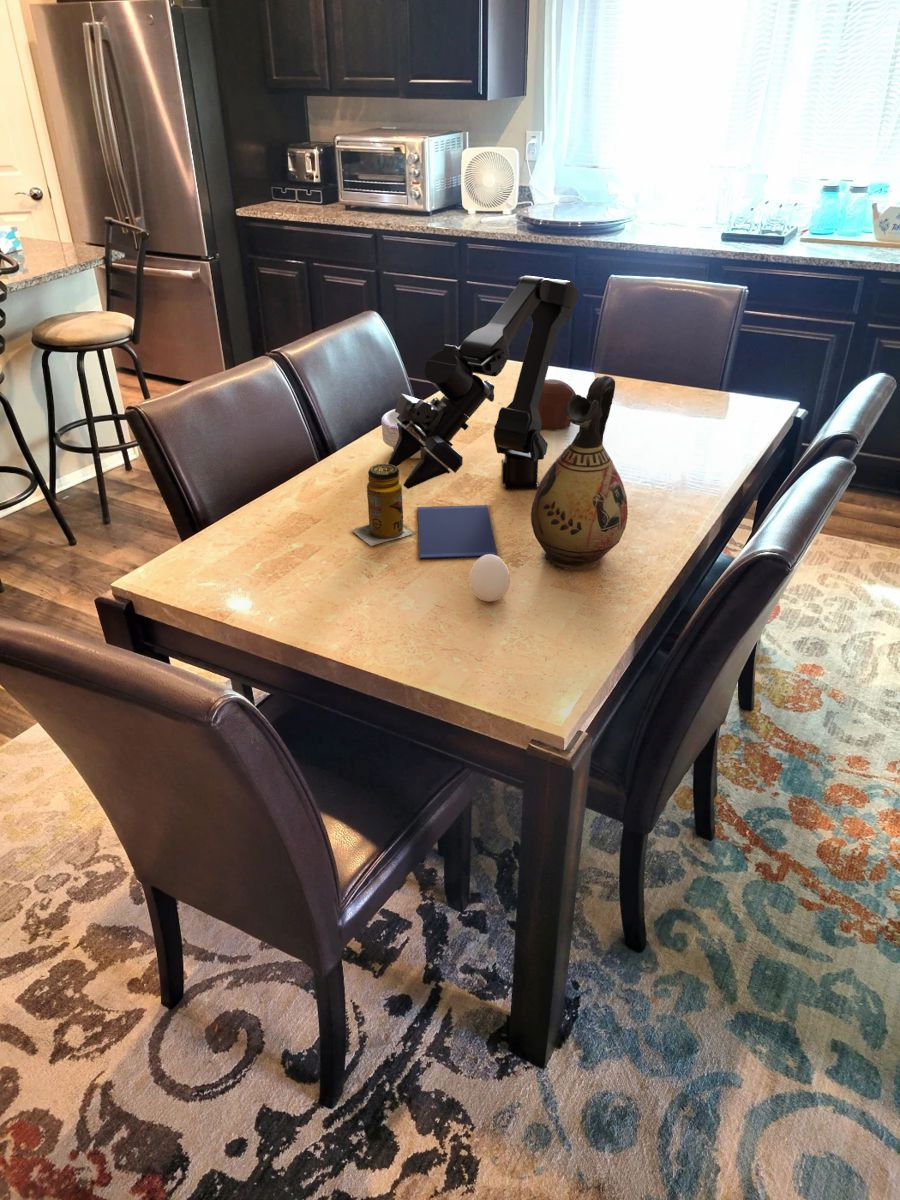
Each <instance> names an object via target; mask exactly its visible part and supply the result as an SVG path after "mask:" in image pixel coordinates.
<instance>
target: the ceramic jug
mask: <svg viewBox="0 0 900 1200" xmlns="http://www.w3.org/2000/svg"><path fill="white" fill-rule="evenodd" d="M615 389H616V381H615V379H614V378H613V377H612V376H609V375H605V374H604V375H603V376H598V377H596V378H595V379H594V380H593V381H592V382H591V383H590V385H589V388H588V390H587V394H586V397H585V396H582V395H581V394H576V395H573V396H572V397H571V398H570V399H569V401H568V403H567V404H566V407H565V414H566V417H567V419H568V421H569V422H570V424H572V425H576V426H578V428H579V429H578V432H577V433H576V435H575V437H574V438H573V440H572V442H571V443H569V445H568V446H567V447H566V448H565V449H564V450H563V452H562V453H561V454H560V455H559V456H558V457H557V458H556V460H555V461H554V462H553V463H552V464H551V466H550V467H549V468H548V470H547V471H546V472H545V474H544V475H543V477H542V479H541V480H540V482H539V483H538V485H539V486H538V489H536V491H535V494H534V498H533V500H532V504H531V508H530V509H531V510H530V524H531V528H532V532H533V535H534V537H535V539H536V541H537V542H538V544H539V545H540V547H541V548H542V550H543V551H544V555H543V556H544V557H543V558H544V559H545V560H546V561H547V562H548V563H549V564H550V565H551V566H553V567H555V568H557V569H559V570H568V571H577V572H578V571H585V570H590V569H592V568H594V567H595V566H597V565H599V563H600V561H601V560H602V559H603V558H604V557H605V556H606V554H608V552H610V551H611V550H612V549H613V548H615V547H616V546H617V545H618V544H619V543H620V541H621V539H622V537H623V534H624V532H625V530H626V528H627V527H626V526H627V521H628V515H629V513H628V499H627V498H628V497H627V493H626V490H625V485H624V483H623V480H622V478H621V475H620V474H619V472H618V470H617V468H616V466H615V464H614V462H613V459H612V458H611V456H610V455H609V453H608V452H607V450H606V448H605V447H604V444H603V443H604V434H605V431H606V426H607V421H608V419H609V417H610V413H611V407H612V404H613V399H614V397H615Z"/></svg>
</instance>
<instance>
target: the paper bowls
mask: <svg viewBox="0 0 900 1200" xmlns="http://www.w3.org/2000/svg"><path fill="white" fill-rule="evenodd" d="M395 409H396V408H394V409H391V410H389V411H387V412H386V413H384V414H383V416H382V417H381V431H382V432H381V435H382V441H383V443H384V444H385V445H387V446H388V447H391V448H392V449H393V450H394V448H395V446H396V444H397V441H398V438H399V431H398V426H397V422H398V423H399V424H400V425H401V424H402V423H401V422H400V421H399V420H398V419H397V417H398V416H399V413H398V412H397V413H396V412H395ZM452 440H453V438H452V439H451V440H450V442H451V441H452ZM419 441H420V442H421V443H422V444H423V445H424V446H425V443H424V442H423V441H422V440H421V439H420V440H419ZM424 449H425V450H426V451H427V452H429V450H428V449H427V448H426V447H424ZM420 458H421V450H420V451H418V452H417V453H415V454H414V455H413V456H411V457H410V458H409V459H420Z"/></svg>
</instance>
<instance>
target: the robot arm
mask: <svg viewBox="0 0 900 1200" xmlns="http://www.w3.org/2000/svg"><path fill="white" fill-rule="evenodd" d="M575 287H576V286H575V283H574V282H573V281H571V280H563V279H553V278H545V277H543V276H541V277H540V276H532V275H524V276H520V277H518V280H517V281H516V285H515V287H514V289H513V291H512V292H511V293H510V294H509V296H508V297H507V299H506V300H505V301H504V302H503V304H502V305H501V306H500V308H499V309H498V310H497V312H496V313H495V315H494V316H493V317H492V318H491V319H490V321H489V322H488V323H487V324H486V325H485V326H482V327H480V328H478V329H475V330H474V331H472V332H471V333H470V334H469V335H468V336H467V337H466V338H464V340H463V341H462V342H461V344H460V345H459V346H458V347H457V346H456V345H453V344H452V345H450V344H444V345H443V348H442V350H439V351H437V352H436V353H434V354H433V355H432V356H430V357H429V358H428V360H426V363H425V366H424V376H425V378H426V379H427V380H428V381H429V382H430V383H431V385H433V387H435V388H436V389H437V390H438V391H439V392H440V393H441V394H442V395H443V396H442V397H441V398H440V399H439V398H438V397H434V398H433V399H431V401H425V400H423V399H419V398H417V397H414V396H411V395H408V394H405V393H401V394H400V396H399V398H398V402H397V405H396V406H395V408H394V409H395V412H396V413H397V412H398V413H399V416H398V417H397V419H398V420H399V421H400V422H401V423H402V424H401V425H400V424H399V423H398V422H397V426H398V431H399V438H398V441H397V444H396V446H395V448H394V449H393V451H392V453H391V455H390V458H389V460H388V462H387V464H391V465H395V466H396V467H397V468H398V467H399V466H400V465H402V464H403V463H404V462H406V461H407V460H408V459H411V458H410V457H411V456H413V455H414V454H415V453H417V452H418V451H420V450H421V458H419V460H418V462H417V463H416V465H415V466H414V467H413V469H412V470H411V472H410V473H409V475H408V476H407V477H406V479H405V481H404V483H403V487H404V488H405V489H407V490H409V489H413V488H414V487H416V486H419V485H421V484H423V483H425V482H427V481H429V480H432V479H434V478H437V477H440V476H442V475H445V474H450V473H451V471H452V473H454V474H456V473H457V472H458V471H459V469H460V468H461V467H462V466H463V464H464V462H463V459H464V458H463V456H462V455H461V454H460V453H459V452H458V451H457V450H456V449H454V448H453V447H452V446H453V445H454V444H453V443H452V442H451V441H452V440H453V438H454V437H455V436H456V434H458V432H459V431H460V430H461V429H462V430H464V431H466V430H467V429H468V428H469V427H470V426H469V424H467V422H468V420H469V419H470V418H471V417H472V416H473V415H474V414H475V413H476V411H477V410H478V409H479V408H480V406H482V404H483V403H484V402H485V400H488V401H489V402H491V403H493V402H494V401H495V385H494V384H493V383H491V382H490V381H489V380H483V379H482V378H481V377H480V376H478V375H482V376H488V377H497V376H499V375H500V373H501V372H502V371H503V370H504V368H505V366H506V364H507V362H508V360H509V359H510V345H511V343H512V342H513V340H514V339H515V337H516V336H517V334H518V333H519V332H520V330H522V328H523V327H524V325H525V323H526V322H527V321H528V320H529V318H530V319H531V322H532V325H531V330H530V334H529V336H528V337H529V338H528V341H527V346H526V348H525V353H524V356H523V360H522V364H521V368H520V371H519V376H518V380H517V383H516V387H515V390H514V394H513V397H512V401H511V402H510V403H509V404H508V405H507V406H506V407H504V406H502V407H500V409H499V410H498V416H497V419H496V423H495V425H494V429H493V439H494V444H495V449H496V453H497V454H501V455H504V458H502V459H501V473H500V477H501V478H500V479H501V483H502V484H504V489H505V490H508V491H509V490H537V489H538V486H539V483H538V477H539V476H538V473H539V461H540V460H541V461H542V460H544V459H545V456H546V454H547V452H548V445H549V443H548V442H547V440H546V439H545V437H544V436H543V435H542V433H541V431H542V430H541V426H542V422H541V419H540V415H539V412H538V404H539V400H540V397H541V393H542V389H543V385H544V382H545V380H546V378H547V374H548V370H549V366H550V362H551V358H552V354H553V351H554V349H555V344H556V340H557V337H558V333H559V332H560V330H561V329H562V328H564V327H565V325H566V324H567V323H568V322H570V320H571V317H572V315H573V313H574V309H575V307H576V306H577V304H578V302H579V301H578V300H579V292H578V289H577V288H575ZM477 374H478V375H477ZM420 439H421V440H422V441H423V442H424V443H425V446H424V445H423V444H422V443H421V442H420V441H419V440H420ZM451 439H452V440H451ZM450 440H451V441H450ZM424 447H426V448H427V449H428V450H429V452H427V451H426V450H425V449H424ZM450 470H451V471H450Z"/></svg>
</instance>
